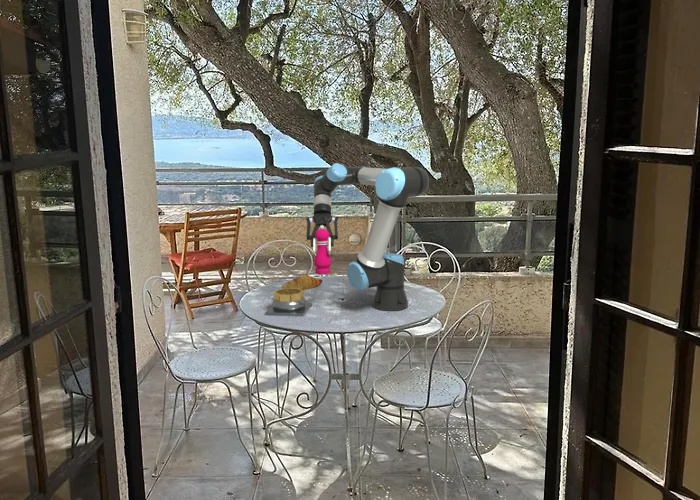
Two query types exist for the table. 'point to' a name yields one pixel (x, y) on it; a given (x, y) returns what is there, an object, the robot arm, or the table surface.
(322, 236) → the pepper mill
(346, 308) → the table surface
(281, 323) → the table surface
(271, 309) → the silver and gold bowl
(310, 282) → the croissant
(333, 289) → the table surface
